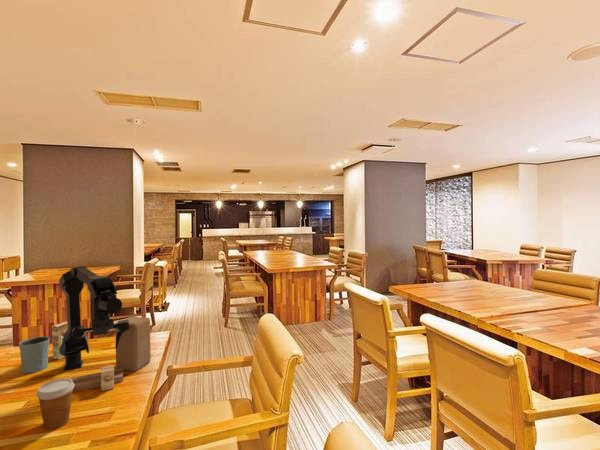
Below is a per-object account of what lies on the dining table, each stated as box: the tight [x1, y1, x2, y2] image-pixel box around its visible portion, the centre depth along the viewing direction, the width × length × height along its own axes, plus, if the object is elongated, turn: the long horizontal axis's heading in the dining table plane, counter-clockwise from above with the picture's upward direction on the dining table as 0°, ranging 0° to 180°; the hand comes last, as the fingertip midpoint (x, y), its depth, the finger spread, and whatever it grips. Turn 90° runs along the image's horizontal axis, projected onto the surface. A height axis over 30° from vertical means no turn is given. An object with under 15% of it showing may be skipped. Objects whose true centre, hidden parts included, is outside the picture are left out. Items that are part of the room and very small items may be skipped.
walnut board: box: [67, 368, 124, 393], centre depth 127 cm, size 8×23×2 cm, turn 118°
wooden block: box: [115, 316, 152, 372], centre depth 142 cm, size 10×10×20 cm
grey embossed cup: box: [18, 336, 51, 374], centre depth 140 cm, size 10×10×12 cm
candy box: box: [51, 320, 68, 360], centre depth 153 cm, size 9×4×15 cm, turn 164°
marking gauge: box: [100, 365, 115, 392], centre depth 127 cm, size 13×4×7 cm, turn 28°
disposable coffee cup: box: [35, 377, 75, 430], centre depth 103 cm, size 10×10×12 cm
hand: (102, 350), depth 127 cm, fingers open, 9 cm apart
